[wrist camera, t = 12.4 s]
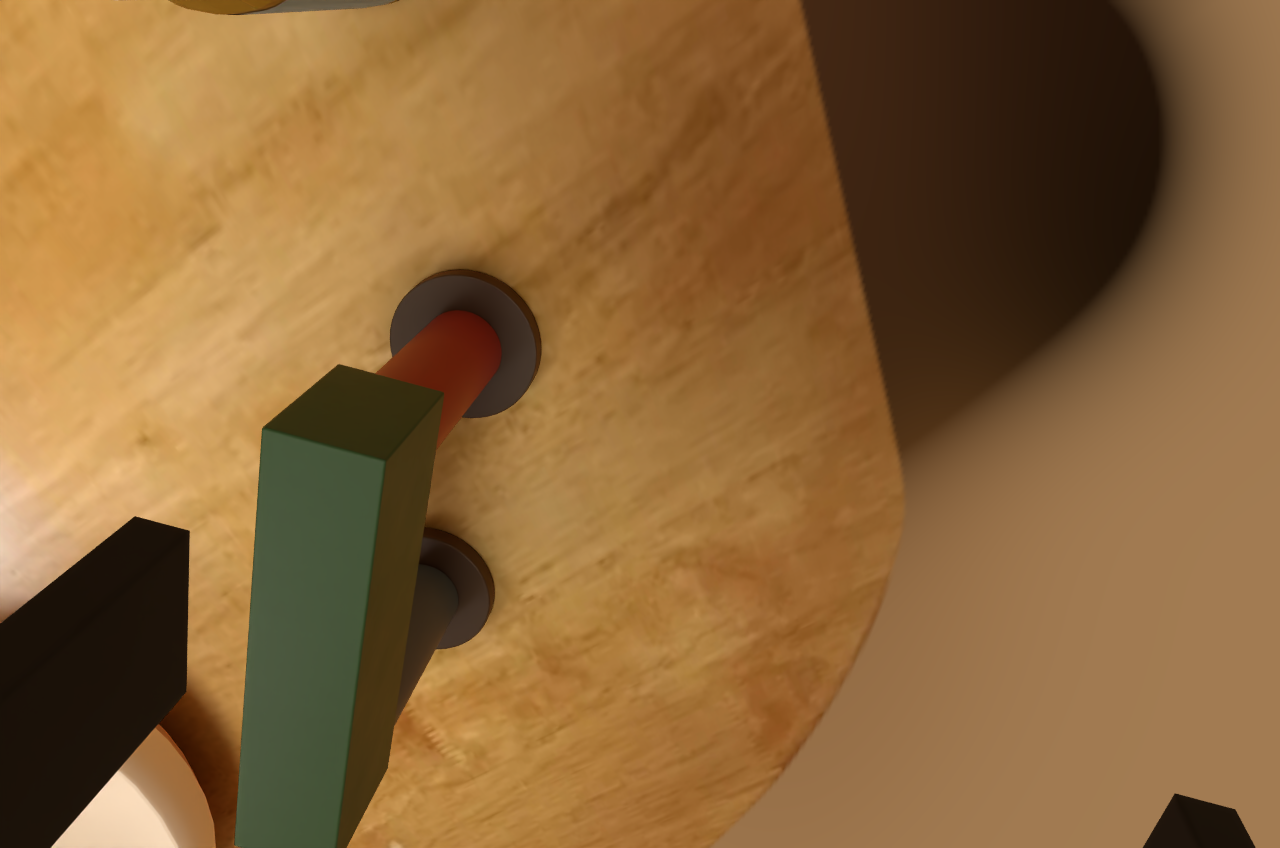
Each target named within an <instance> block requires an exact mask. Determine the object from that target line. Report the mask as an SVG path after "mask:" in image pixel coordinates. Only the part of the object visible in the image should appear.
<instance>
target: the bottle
mask: <svg viewBox="0 0 1280 848" xmlns="http://www.w3.org/2000/svg"><path fill="white" fill-rule="evenodd" d="M169 1H171V2H172V3H174V4H176V5H178V6H181V7H184V8H187V9H191V10H197V11H202V12H207V13H212V14H227V15H247V14H265V13H283V12H301V11H319V10H337V9H356V8H367V7H373V6H379V5H384V4H390V3H393V2H396V1H399V0H169Z"/></svg>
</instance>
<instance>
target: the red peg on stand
mask: <svg viewBox="0 0 1280 848" xmlns="http://www.w3.org/2000/svg"><path fill="white" fill-rule="evenodd" d="M390 346H391V352H392V358H391V359H390V360H389V361H388V362H387V363H386V364H385V365H384V366H383V367H382V368H381V369H380V370H379V371H377V372H376V373H375V374H378V375H382V376H385V377H389V378H393V379H397V380H400V381H404V382H408V383H412V384H415V385H419V386H423V387H427V388H430V389H434V390H438V391H442V392H444V400H443V407H442V414H441V420H440V427H439V433H438V440H437V447H436V450H437V449H438V447H439V446H440V445H441V443H442V442H443V441H444V439H445V438H446V437H447V436H448V434H449V433H450V432H451V430H452V429H453V428H454V426H455V425H456V424H457V423H458V421H459V420H460V419H461V417H463V418H482V417H487V416H491V415H495V414H498V413H500V412H502V411H504V410H506V409H508V408H509V407H511V406H512V405H514V404H515V403H516V402H517V401H518V400H519V399H520V398H521V397H522V396H523V395H524V393H525V392H526V391H527V389H528V388H529V386H530V384H531V383H532V381H533V380H534V378H535V375H536V373H537V371H538V367H539V363H540V357H541V341H540V334H539V330H538V327H537V324H536V322H535V319H534V317H533V315H532V313H531V311H530V310H529V308H528V306H527V305H526V304H525V303H524V301H523V300H522V299H521V298H520V297H519V296H518V295H517V294H516V292H515V291H513V290H512V289H511V288H510V287H508V286H507V285H506V284H504V283H502V282H501V281H499V280H498V279H495V278H493V277H491V276H489V275H486V274H483V273H480V272H475V271H470V270H450V271H445V272H441V273H438V274H435V275H432V276H430V277H429V278H427V279H425V280H423V281H422V282H421V283H419V284H418V285H417V286H415V287H414V288H413V289H412V290H410V292H409V293H408V294H407V295H406V296H405V297H404V298H403V299H402V301H401V302H400V303H399V305H398V307H397V309H396V311H395V313H394V316H393V319H392V324H391V329H390Z"/></svg>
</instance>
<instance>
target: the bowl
mask: <svg viewBox="0 0 1280 848" xmlns="http://www.w3.org/2000/svg"><path fill="white" fill-rule="evenodd" d="M51 848H216V845H215V832H214V822H213V819H212V816H211V812H210V809H209V806H208V803H207V800H206V797H205V794H204V793H203V791H202V789H201V787H200V785H199V783H198V781H197V778H196V776H195V774H194V772H193V771H192V769H191V767H190V765H189V763H188V761H187V760H186V758H185V756H184V754H183V752H182V751H181V750H180V749H179V747H178V746H177V745H176V743H175V742H174V741H173V740H172V738H171V737H170V736H169V735H168V733H167V732H166V731H165V730H164V729H163V728H162V727H161V726H160V725H159V724H158V725H157V726H156V727H155V728H154V730H153V731H152V732H151V733H150V734H149V735H148V737H147V738H146V739H145V740H144V741H143V742H142V743H141V745H140V746H139V747H138V748H137V749H136V750H135V751H134V753H133V754H132V755H131V756H130V757H129V758H128V760H127V761H126V762H125V763H124V764H123V765H122V766H121V768H120V769H119V770H118V771H117V772H116V773H115V775H114V776H113V777H112V778H111V779H110V780H109V781H108V783H107V784H106V785H105V786H104V787H103V788H102V789H101V791H100V792H99V793H98V794H97V795H96V796H95V798H94V799H93V800H92V801H91V802H90V803H89V804H88V806H87V807H86V808H85V809H84V810H83V811H82V812H81V814H80V815H79V816H78V817H77V818H76V819H75V821H74V822H73V823H72V824H71V825H70V826H69V827H68V829H67V830H66V831H65V832H64V833H63V834H62V836H61V837H60V838H59V839H58V840H57V841H56V842H55V844H54V845H53V846H52V847H51Z"/></svg>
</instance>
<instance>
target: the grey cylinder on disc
mask: <svg viewBox="0 0 1280 848" xmlns="http://www.w3.org/2000/svg"><path fill="white" fill-rule="evenodd" d="M493 602H494V586H493V581H492V578H491V575H490V572H489V570H488V568H487V566H486V565H485V563H484V561H483V560H482V558H481V557H480V556H479V555H478V554H477V553H476V552H475V551H474V550H473V549H472V548H471V547H470V546H469V545H468V544H466V543H465V542H464V541H462V540H460V539H459V538H457V537H455V536H453V535H451V534H449V533H446V532H443V531H440V530H436V529H432V528H424V532H423V539H422V545H421V552H420V558H419V565H418V571H417V578H416V585H415V591H414V598H413V604H412V611H411V618H410V624H409V631H408V637H407V644H406V650H405V657H404V664H403V670H402V677H401V683H400V690H399V696H398V703H397V710H396V716H395V723H394V726H395V724H396V722H397V720H398V718H399V716H400V714H401V713H402V711H403V709H404V707H405V705H406V703H407V701H408V700H409V698H410V696H411V694H412V692H413V690H414V688H415V687H416V685H417V683H418V681H419V679H420V677H421V676H422V674H423V672H424V670H425V668H426V666H427V664H428V663H429V661H430V659H431V657H432V655H433V653H434V651H435V650H436V649H447V648H452V647H456V646H459V645H461V644H463V643H465V642H467V641H469V640H470V639H472V638H473V637H474V636H476V635H477V634H478V633H479V631H480V630H481V629H482V628H483V626H484V625H485V623H486V621H487V618H488V616H489V614H490V612H491V610H492V606H493Z"/></svg>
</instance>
